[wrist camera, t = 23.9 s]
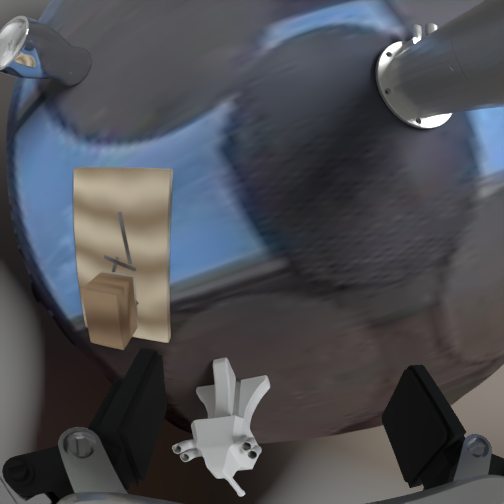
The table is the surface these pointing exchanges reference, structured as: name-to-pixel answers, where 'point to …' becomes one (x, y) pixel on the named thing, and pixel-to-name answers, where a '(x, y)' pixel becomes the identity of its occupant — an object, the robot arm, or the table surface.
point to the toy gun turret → (226, 424)
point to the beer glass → (41, 53)
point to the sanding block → (111, 309)
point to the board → (127, 236)
